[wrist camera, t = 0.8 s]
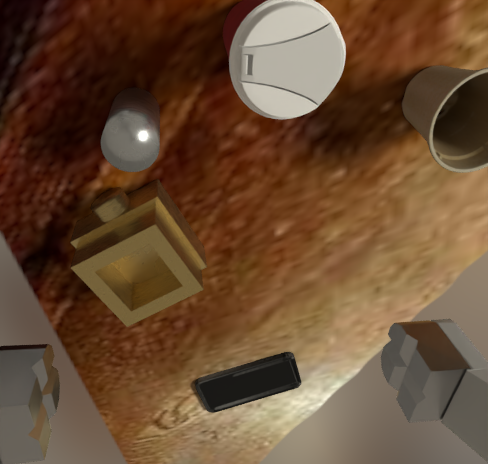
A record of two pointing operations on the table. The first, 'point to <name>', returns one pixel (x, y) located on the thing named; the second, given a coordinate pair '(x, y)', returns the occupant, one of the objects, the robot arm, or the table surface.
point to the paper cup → (283, 55)
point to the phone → (249, 382)
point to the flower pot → (451, 115)
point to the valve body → (138, 252)
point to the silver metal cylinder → (132, 130)
